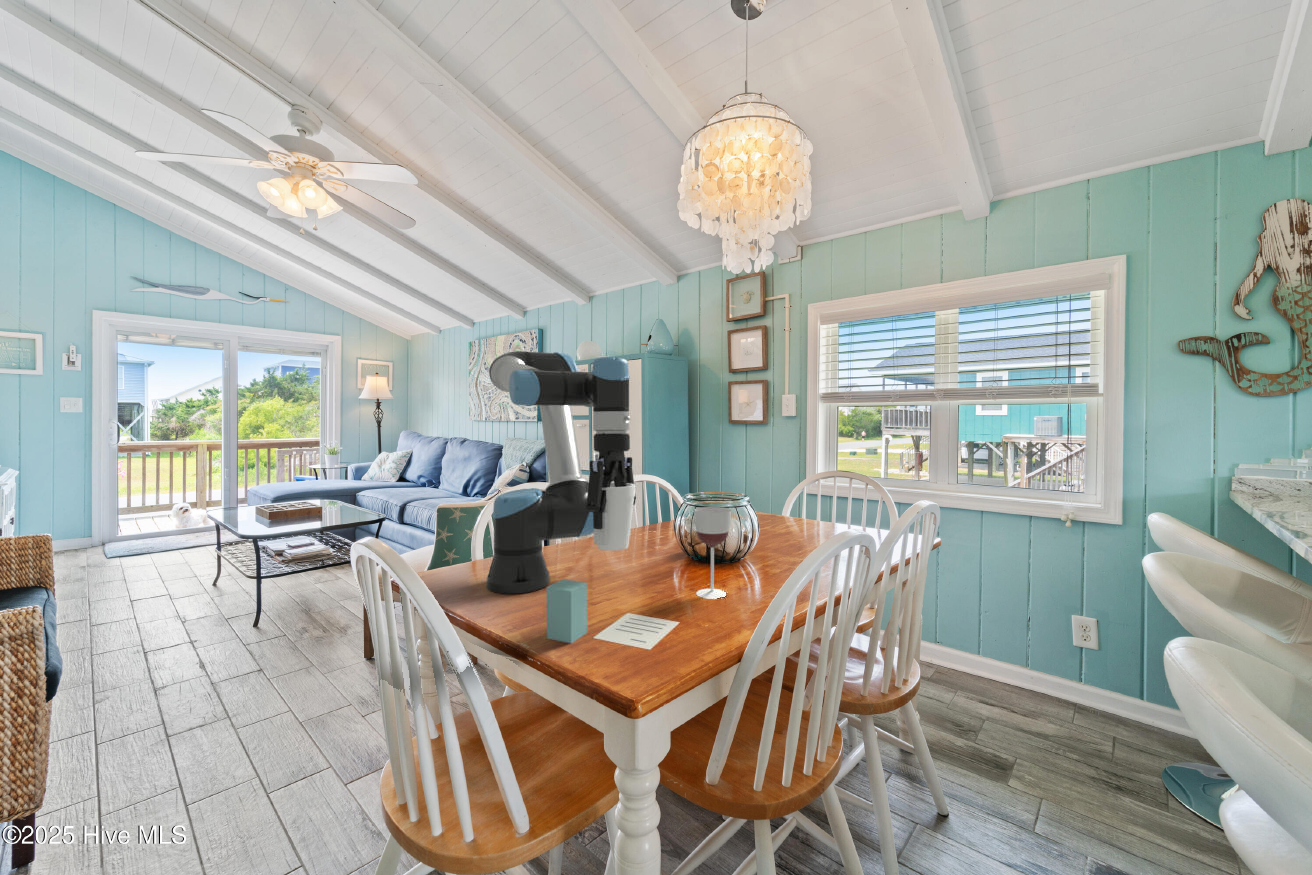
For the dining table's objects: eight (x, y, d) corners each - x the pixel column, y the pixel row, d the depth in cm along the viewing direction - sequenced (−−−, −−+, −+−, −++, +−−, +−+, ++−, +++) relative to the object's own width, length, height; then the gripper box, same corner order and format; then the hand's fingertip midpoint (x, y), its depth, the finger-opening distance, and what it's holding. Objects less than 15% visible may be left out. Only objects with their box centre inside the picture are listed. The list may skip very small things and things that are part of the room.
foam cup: (628, 553, 108) (627, 488, 108) (584, 551, 110) (583, 487, 110) (639, 543, 117) (639, 483, 117) (599, 541, 119) (598, 482, 119)
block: (563, 628, 108) (563, 579, 107) (587, 633, 105) (587, 582, 105) (547, 639, 103) (546, 587, 102) (571, 644, 100) (571, 591, 100)
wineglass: (736, 597, 126) (736, 511, 125) (701, 601, 123) (701, 513, 123) (722, 586, 134) (722, 506, 133) (689, 590, 131) (689, 507, 130)
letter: (592, 638, 103) (592, 637, 103) (627, 613, 115) (627, 612, 115) (649, 650, 98) (649, 649, 98) (679, 623, 110) (679, 622, 110)
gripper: (599, 433, 101) (601, 552, 102) (650, 431, 121) (652, 531, 122) (566, 433, 105) (567, 549, 105) (621, 431, 124) (622, 529, 125)
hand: (613, 539), depth 113 cm, fingers closed on foam cup, 9 cm apart
